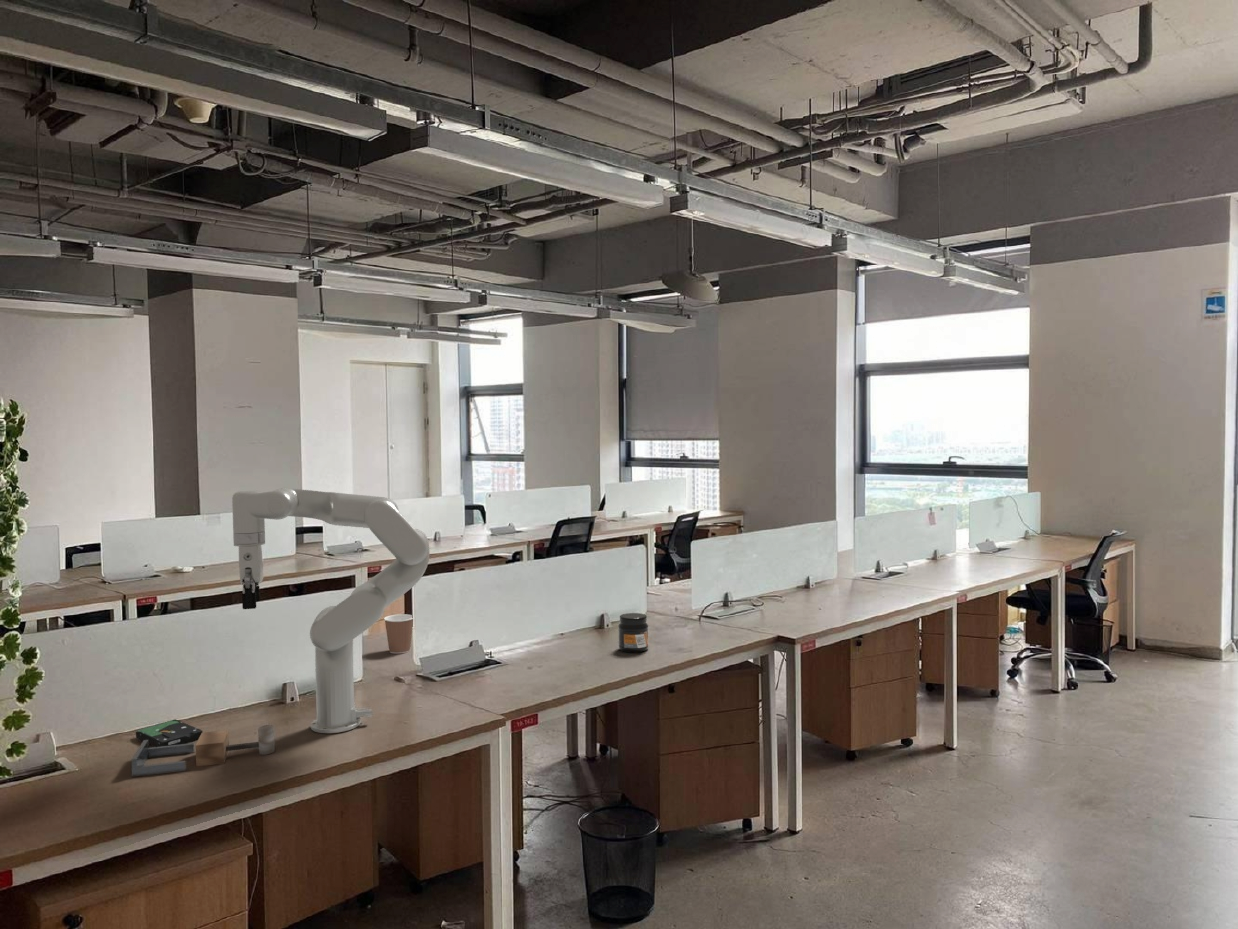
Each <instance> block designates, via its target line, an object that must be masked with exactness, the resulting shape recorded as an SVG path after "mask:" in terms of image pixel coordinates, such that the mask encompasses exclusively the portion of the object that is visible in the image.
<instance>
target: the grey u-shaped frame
mask: <svg viewBox="0 0 1238 929" xmlns="http://www.w3.org/2000/svg"><path fill="white" fill-rule="evenodd" d="M149 746H150V744H149V743H148V740H144V741H142V742H141V744H140V746H138V749H137V750H136V752H135V753H134V755H133V756H132V758H131V776H132V778H133V777H141V776H142V777H143V776H152V775H153V776H154V775H158V774H167V773H170V774H171V773H178V772H185V771H187V760H179V761H172V762H171V761H170V762H169V761H168V762H163V763H154V764H146V765H145V763H146V762H147V761H148V759H149V758H154V757H155V758H156V757H164V756H173V755H175V756H176V755H183V754H191V753H192V754H193V753H194V752H195V742H190V743H187V744H180V745H171V746H161V747H154V746H151V747H149Z"/></svg>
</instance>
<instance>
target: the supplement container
mask: <svg viewBox="0 0 1238 929" xmlns="http://www.w3.org/2000/svg"><path fill="white" fill-rule="evenodd" d="M647 622H648V616H647V614H644V613H640V612H627V613H622V614H620V615H619V623H618V625H617V626H618V627H617V628H618V649H619V650H620V651H621V652H625V653H629V654H630V653H631V654H636V653H637V654H638V653H643V652H646V651H647V650H648V648H649V624H648V623H647Z"/></svg>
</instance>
